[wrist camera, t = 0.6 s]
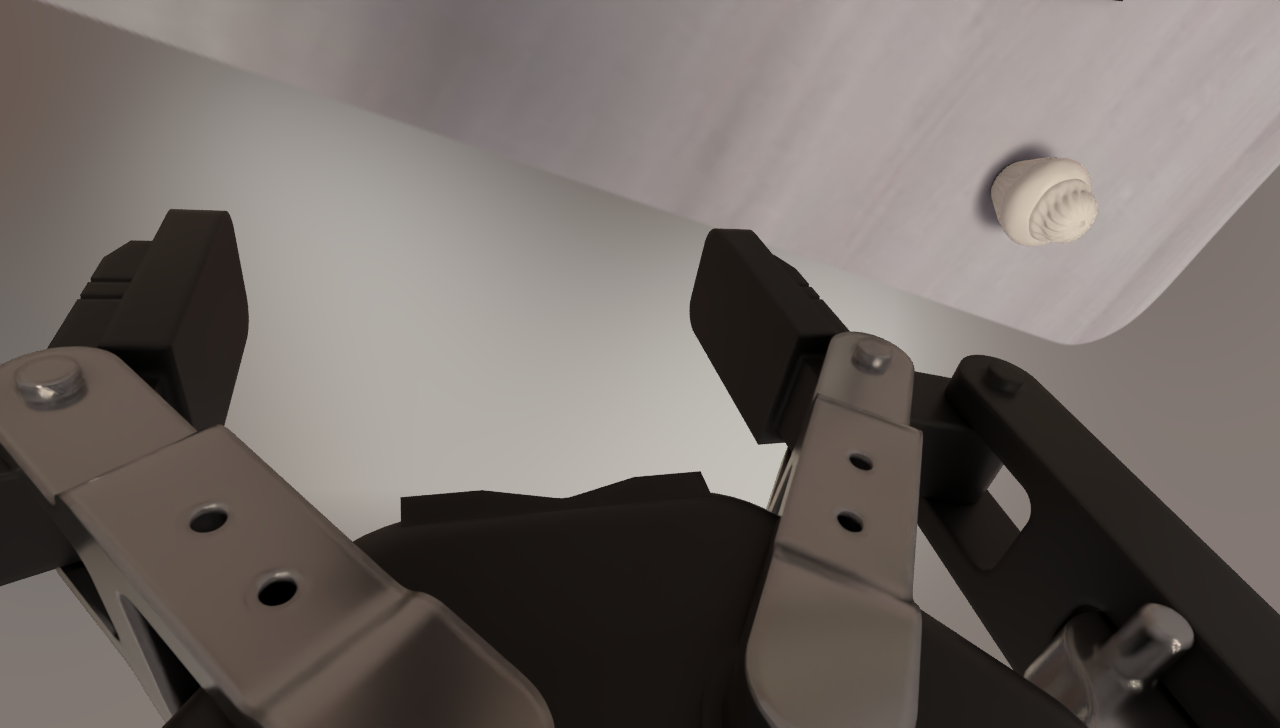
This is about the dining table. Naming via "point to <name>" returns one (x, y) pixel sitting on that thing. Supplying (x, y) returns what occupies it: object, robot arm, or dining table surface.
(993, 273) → the dining table surface
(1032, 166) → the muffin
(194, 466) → the robot arm
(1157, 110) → the dining table surface
